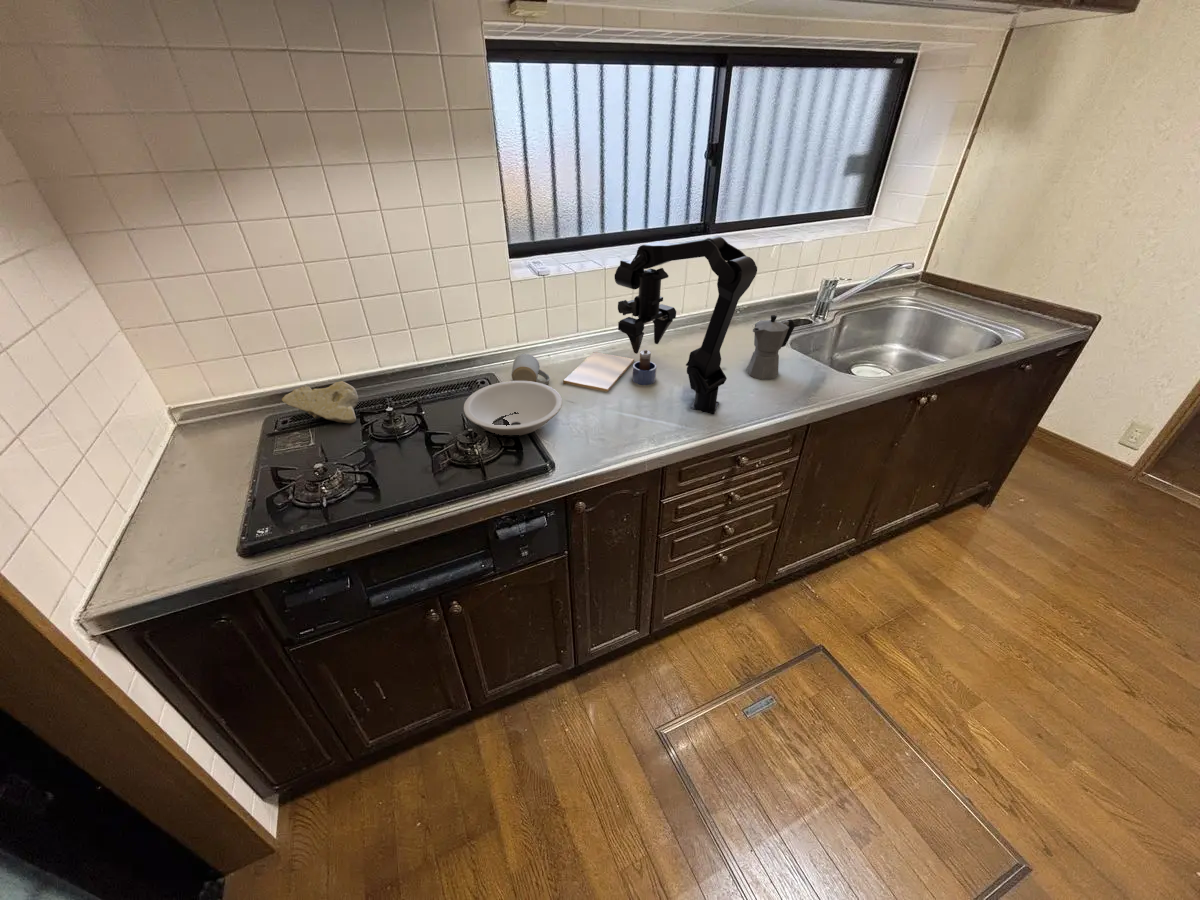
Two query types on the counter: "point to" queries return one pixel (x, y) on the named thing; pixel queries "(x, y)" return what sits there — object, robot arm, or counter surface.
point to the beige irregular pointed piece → (326, 401)
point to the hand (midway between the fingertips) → (646, 348)
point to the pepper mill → (645, 360)
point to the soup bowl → (513, 406)
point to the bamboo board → (599, 371)
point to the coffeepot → (768, 347)
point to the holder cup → (644, 374)
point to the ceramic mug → (528, 369)
